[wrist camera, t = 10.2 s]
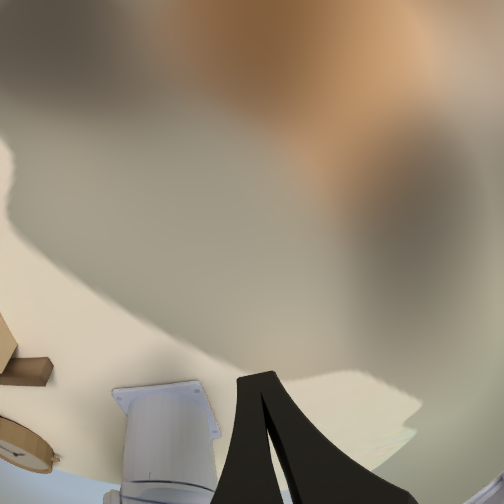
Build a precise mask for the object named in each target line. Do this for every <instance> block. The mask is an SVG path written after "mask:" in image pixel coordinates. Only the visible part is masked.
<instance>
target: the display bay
mask: <svg viewBox="0 0 504 504" xmlns="http://www.w3.org/2000/svg"><path fill="white" fill-rule="evenodd" d="M52 368H53V364H52V362H51V361H50V359H49V358H48V357H42V358H13V359H9V361H8V363H7V365H6V366H5V368H4V370H3V372H2V373H0V385H14V386H44V387H45V386H46V383H47V381H48V378H49V376H50V373H51V371H52Z"/></svg>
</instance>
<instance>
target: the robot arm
mask: <svg viewBox="0 0 504 504" xmlns="http://www.w3.org/2000/svg"><path fill="white" fill-rule="evenodd" d="M196 389H198V390H196ZM112 396H113V397H114V399H115V400H116V402H117V403H118V405H119V406H120V407H121V409H122V410H123V412H124V413H125V414H126V416H127V424H126V434H125V444H124V455H123V468H122V484H121V488H120V491H117V490H113V489H112V490H110V492H108V493H106V494H104V498H103V504H284V503H283V499H282V496H281V493H280V489H279V485H278V482H277V478H276V475H275V471H274V467H273V464H272V460H271V453H270V446H269V439H268V433H269V435H270V438H271V441H272V443H273V446H274V449H275V451H276V454H277V457H278V459H279V462H280V464H281V467H282V470H283V472H284V475H285V478H286V481H287V484H288V488H289V491H290V495H291V498H292V502H293V504H418V503H417V501H416V500H415V498H414V497H413V496H412V495H411V494H410V493H409V492H408V491H406V490H404V489H401V488H399V487H397V486H395V485H393V484H391V483H389V482H387V481H385V480H384V479H382V478H380V477H378V476H377V475H375V474H373V473H372V472H370V471H369V470H367V469H366V468H364V467H363V466H361V465H360V464H358V463H357V462H355V461H354V460H352V459H351V458H350V457H348V456H347V455H346V454H345V453H343V452H342V451H341V450H340V449H338V448H337V447H336V446H335V445H334V444H333V443H331V442H330V441H329V440H328V439H327V438H326V437H325V436H324V435H323V434H322V433H321V432H320V431H319V430H318V429H317V428H316V427H315V426H314V425H313V424H312V423H311V422H310V421H309V419H308V418H307V417H306V416H305V415H304V414H303V412H302V411H301V410H300V409H299V408H298V406H297V405H296V404H295V403H294V401H293V400H292V399H291V397H290V396H289V394H288V393H287V391H286V390H285V388H284V387H283V385H282V384H281V382H280V380H279V378H278V377H277V375H276V373H275V372H274V371H268V372H263V373H258V374H253V375H248V376H243V377H239V378H238V379H237V404H236V414H235V421H234V427H233V433H232V437H231V442H230V446H229V451H228V454H227V458H226V461H225V465H224V468H223V471H222V474H221V477H220V480H219V482H218V480H217V472H216V465H215V457H214V449H213V441H212V439H217V438H220V437H221V436H222V434H221V431H220V429H219V427H218V424H217V422H216V419H215V417H214V415H213V412H212V410H211V407H210V405H209V402H208V400H207V397H206V395H205V392H204V390H203V387H202V385H201V383H200V382H199V381H188V382H180V383H172V384H164V385H155V386H145V387H133V388H120V389H113V390H112ZM267 430H268V433H267ZM462 504H504V470H503V471H502V472H501V473H500V474H499V475H497V476H496V477H495V478H494V479H493V480H491V482H489V483H488V484H486V485H485V486H484V488H483V489H481V490H480V491H479V492H478V493H476V494H475V495H473V496H472V497H471V498H469V499H468V500H467V501H465V502H464V503H462Z"/></svg>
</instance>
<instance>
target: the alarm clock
mask: <svg viewBox="0 0 504 504" xmlns="http://www.w3.org/2000/svg"><path fill="white" fill-rule="evenodd" d="M53 456H54V452H53V449H52V448H51V447H50V445H49V444H48V443H47V442H46V441H45V440H43V439H42V438H41V437H39V436H38V435H36V434H35V433H33V432H31V431H30V430H28V429H26V428H24V427H22V426H20V425H18V424H16V423H14V422H11V421H9V420H6V419H4V418H0V457H1V458H2V459H4V460H6V461H7V462H9V463H11V464H13V465H15V466H18V467H20V468H23V469H26V470H28V471H32V472H36V473H42V474H48V473H51V472H52V465H53V461H60V459H59V458H56V457H53Z"/></svg>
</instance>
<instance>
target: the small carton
mask: <svg viewBox="0 0 504 504" xmlns="http://www.w3.org/2000/svg"><path fill="white" fill-rule="evenodd" d="M17 345H18V343H17V342H16V340H15V338H14V337H13V335H12V333H11V332H10V330H9V328H8V326H7V324H6V323H5V321H4V319H3V317H2V315H1V313H0V373H2V372H3V370H4V368H5V366H6V365H7V363H8V361H9V359H10V357H11V355H12V354H13V352H14V350H15V348H16V347H17Z"/></svg>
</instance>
